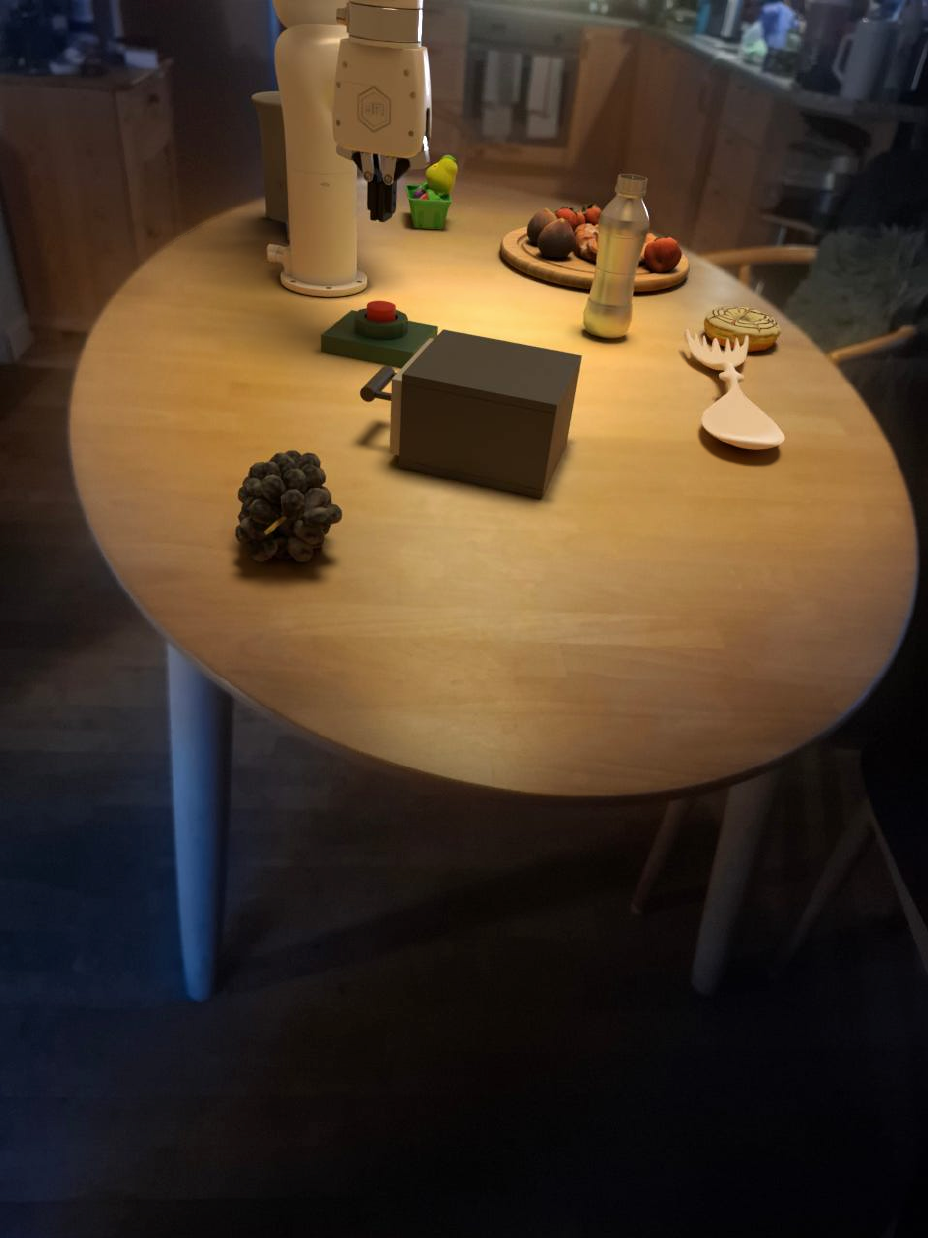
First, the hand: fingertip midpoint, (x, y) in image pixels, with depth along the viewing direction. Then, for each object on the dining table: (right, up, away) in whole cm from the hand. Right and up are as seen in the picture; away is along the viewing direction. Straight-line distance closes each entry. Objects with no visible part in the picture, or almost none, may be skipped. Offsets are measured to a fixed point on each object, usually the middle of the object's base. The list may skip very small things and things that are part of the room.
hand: (381, 218), depth 99 cm
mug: (-18, +21, +49) cm, 57 cm away
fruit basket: (+3, +26, +58) cm, 64 cm away
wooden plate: (+31, +14, +46) cm, 58 cm away
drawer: (+8, -27, -10) cm, 30 cm away
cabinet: (+12, -29, -10) cm, 33 cm away
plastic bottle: (+29, -7, +20) cm, 36 cm away
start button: (-1, -9, +8) cm, 12 cm away
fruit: (-6, -39, -24) cm, 46 cm away
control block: (-1, -12, +10) cm, 16 cm away
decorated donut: (+49, -7, +23) cm, 54 cm away
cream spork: (+42, -20, +6) cm, 47 cm away
